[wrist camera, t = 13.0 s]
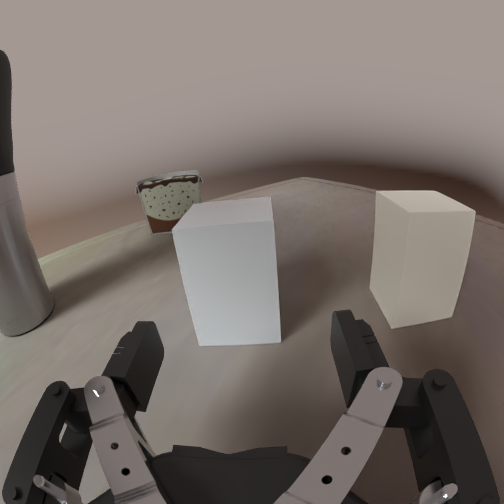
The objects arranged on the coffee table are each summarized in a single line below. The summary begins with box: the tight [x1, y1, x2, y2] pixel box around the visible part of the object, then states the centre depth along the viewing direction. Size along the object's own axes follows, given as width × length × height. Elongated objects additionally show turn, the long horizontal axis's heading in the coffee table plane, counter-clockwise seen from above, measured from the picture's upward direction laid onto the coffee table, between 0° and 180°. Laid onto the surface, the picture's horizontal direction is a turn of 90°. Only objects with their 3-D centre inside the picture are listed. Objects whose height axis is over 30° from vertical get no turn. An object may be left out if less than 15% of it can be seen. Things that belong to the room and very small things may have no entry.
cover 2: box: [369, 191, 476, 329], centre depth 22 cm, size 7×7×10 cm
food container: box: [135, 170, 204, 235], centre depth 50 cm, size 12×6×10 cm, turn 94°
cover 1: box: [172, 197, 281, 346], centre depth 23 cm, size 7×7×10 cm
